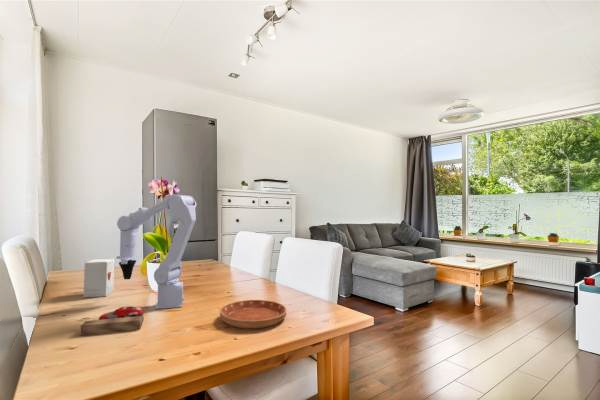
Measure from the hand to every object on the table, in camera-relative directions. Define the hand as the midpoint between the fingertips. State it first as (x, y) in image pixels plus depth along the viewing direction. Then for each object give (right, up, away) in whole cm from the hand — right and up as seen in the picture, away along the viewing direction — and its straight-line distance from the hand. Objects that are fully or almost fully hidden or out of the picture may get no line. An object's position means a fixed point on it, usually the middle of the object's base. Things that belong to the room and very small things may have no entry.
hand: (127, 278), depth 125 cm
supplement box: (-18, -10, +11) cm, 23 cm away
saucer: (+54, -10, -17) cm, 57 cm away
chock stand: (+11, -9, -26) cm, 30 cm away
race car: (+9, -10, -19) cm, 23 cm away
